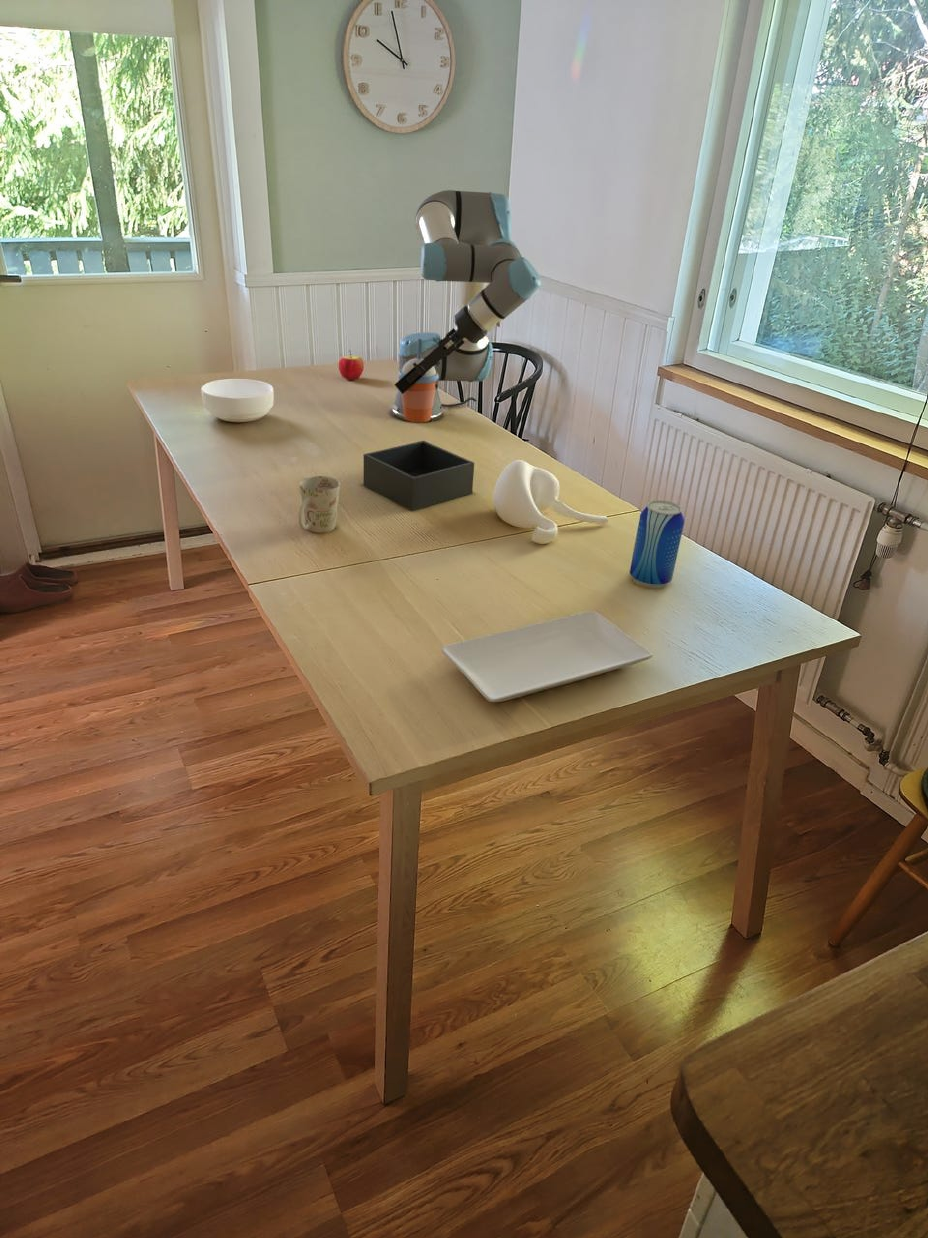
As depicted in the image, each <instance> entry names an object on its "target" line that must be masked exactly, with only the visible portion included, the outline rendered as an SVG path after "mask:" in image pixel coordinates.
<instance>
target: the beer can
mask: <svg viewBox="0 0 928 1238" xmlns="http://www.w3.org/2000/svg"><path fill="white" fill-rule="evenodd" d="M682 511H683V508H682V506H680V505H679V504H678V503H675V502H673V501H670V500H663V499H654V500H651V501H648V502H647V503H646V507H645V508H644V509H643V510H641V512H640V515H639V520H638V525H637V531H636V535H635V541H634V547H633V552H632V557H631V562H630V567H629V574H630V576H631V578H632V581H633V582H634V583H635V585H637V586H640V587H642V588H645V589H650V590H658V589H659V590H660V589H664V588H666V586H668V584H669V583H670V582H672V580H673V577H674V573H675V572H674V571H675V567H676V562H677V557H678V554H679V549H680V544H681V540H682V535H683V530H684V526H685V518H684V515H683V513H682Z"/></svg>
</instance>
